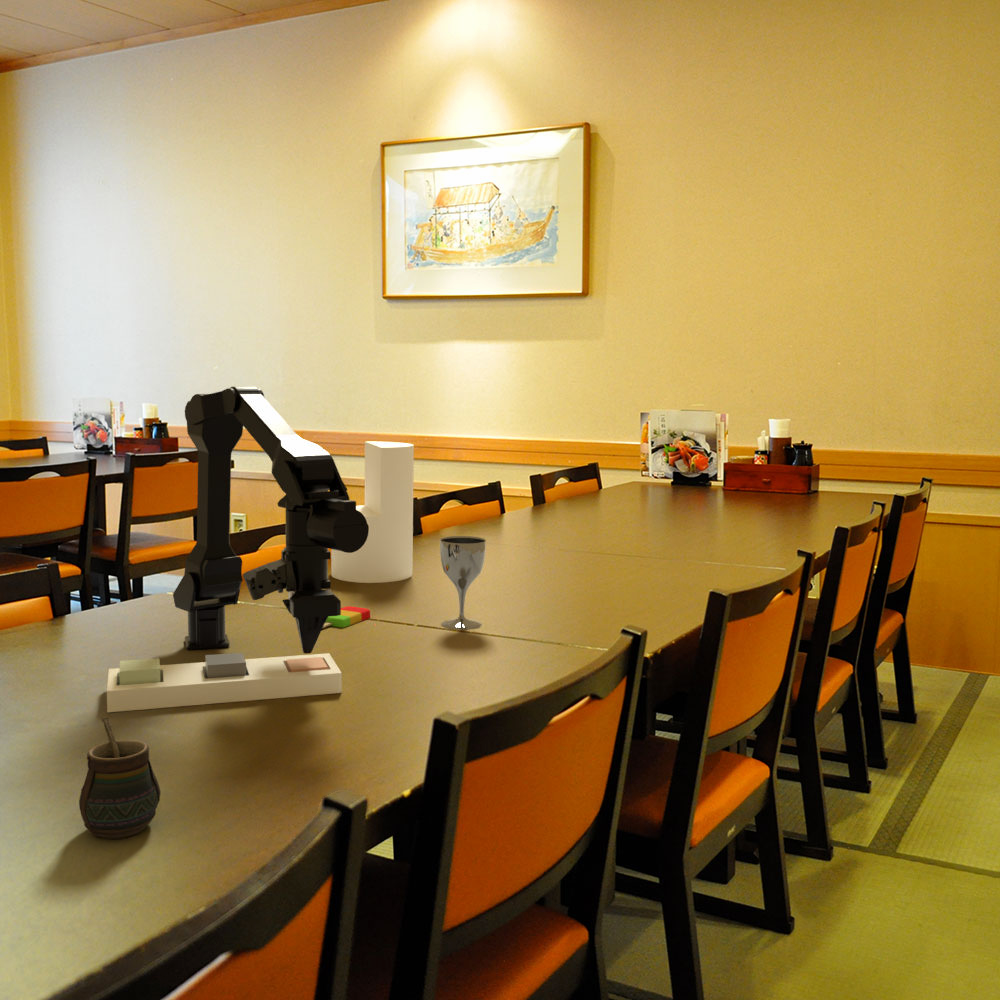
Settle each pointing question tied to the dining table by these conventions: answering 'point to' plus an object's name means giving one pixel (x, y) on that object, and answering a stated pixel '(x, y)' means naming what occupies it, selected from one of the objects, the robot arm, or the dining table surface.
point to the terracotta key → (306, 664)
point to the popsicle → (348, 617)
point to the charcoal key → (225, 665)
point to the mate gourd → (118, 788)
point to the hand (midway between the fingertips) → (307, 652)
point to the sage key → (139, 671)
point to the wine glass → (462, 571)
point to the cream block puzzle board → (223, 684)
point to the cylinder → (383, 518)
